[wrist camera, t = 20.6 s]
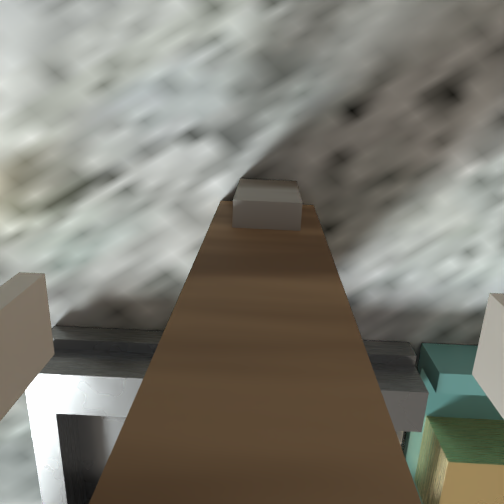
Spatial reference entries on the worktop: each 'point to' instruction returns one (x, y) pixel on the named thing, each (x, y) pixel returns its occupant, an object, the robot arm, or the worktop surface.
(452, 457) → the chip
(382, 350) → the grey shallow bin
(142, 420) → the brown long block
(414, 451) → the tray
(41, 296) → the robot arm
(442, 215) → the worktop surface
